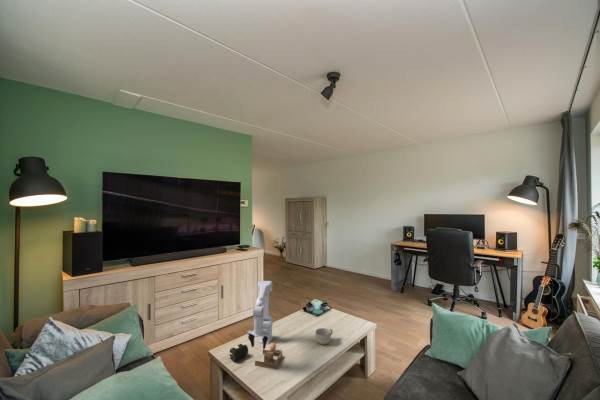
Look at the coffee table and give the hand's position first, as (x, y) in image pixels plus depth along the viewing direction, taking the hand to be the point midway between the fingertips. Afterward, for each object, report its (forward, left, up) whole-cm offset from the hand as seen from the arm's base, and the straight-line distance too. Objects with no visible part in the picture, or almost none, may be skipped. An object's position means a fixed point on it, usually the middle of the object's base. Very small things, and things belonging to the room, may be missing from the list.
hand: (258, 347), depth 160 cm
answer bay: (-4, +5, -10) cm, 12 cm away
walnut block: (-4, +5, -10) cm, 12 cm away
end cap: (-2, -15, -10) cm, 18 cm away
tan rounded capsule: (-14, +4, -10) cm, 18 cm away
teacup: (-35, +36, -10) cm, 51 cm away
